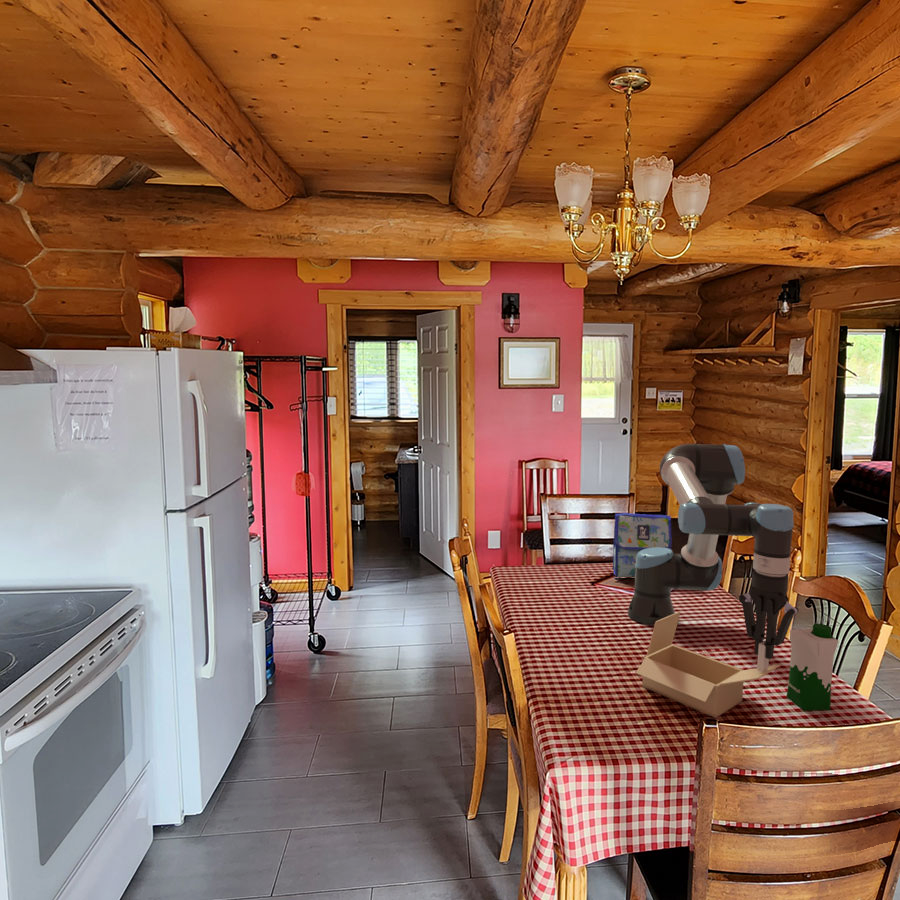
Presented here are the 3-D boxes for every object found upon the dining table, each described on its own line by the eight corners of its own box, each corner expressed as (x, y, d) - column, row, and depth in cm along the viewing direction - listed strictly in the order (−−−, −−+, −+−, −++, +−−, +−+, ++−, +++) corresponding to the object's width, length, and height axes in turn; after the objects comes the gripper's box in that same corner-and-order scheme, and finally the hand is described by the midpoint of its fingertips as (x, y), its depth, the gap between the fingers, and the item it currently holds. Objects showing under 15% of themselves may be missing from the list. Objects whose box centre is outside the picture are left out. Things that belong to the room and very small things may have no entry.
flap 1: (646, 654, 170) (655, 621, 167) (670, 643, 177) (679, 611, 175) (647, 655, 170) (656, 621, 167) (671, 644, 177) (680, 612, 174)
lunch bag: (613, 581, 258) (616, 517, 255) (610, 569, 274) (613, 508, 271) (672, 585, 254) (675, 519, 251) (665, 572, 271) (668, 511, 268)
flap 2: (719, 683, 155) (757, 677, 148) (742, 670, 162) (780, 664, 155) (720, 685, 155) (758, 679, 147) (743, 671, 162) (780, 665, 155)
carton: (632, 691, 168) (634, 661, 167) (678, 668, 182) (680, 640, 181) (706, 724, 153) (708, 691, 152) (750, 695, 166) (752, 665, 165)
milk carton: (836, 711, 159) (843, 633, 157) (801, 713, 158) (807, 634, 156) (813, 694, 168) (819, 619, 165) (780, 695, 167) (786, 620, 164)
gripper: (734, 568, 152) (727, 664, 155) (792, 582, 142) (783, 684, 145) (750, 562, 157) (743, 655, 160) (807, 576, 147) (798, 675, 150)
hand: (762, 669), depth 152 cm, fingers closed
